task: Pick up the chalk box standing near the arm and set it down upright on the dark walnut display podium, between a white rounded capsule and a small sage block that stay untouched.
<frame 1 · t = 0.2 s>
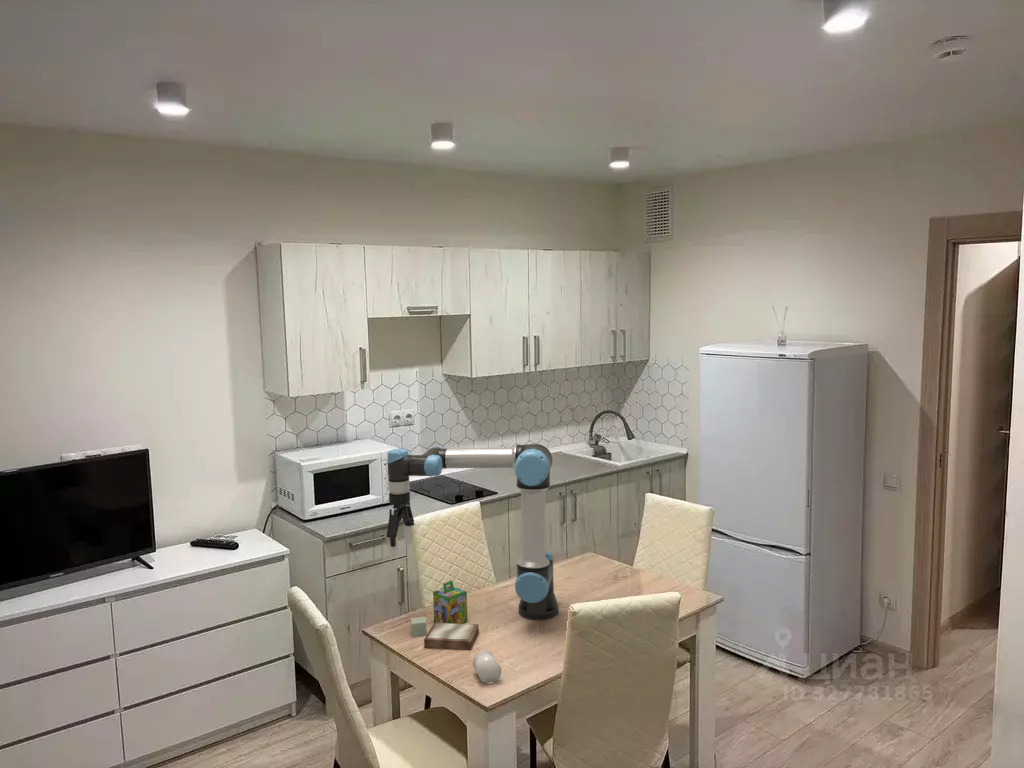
hand: (401, 549, 274), 27 cm above the table, fingers open, 13 cm apart
podium: (452, 640, 260), on the table
sage block: (418, 633, 266), on the table
chalk box: (450, 622, 275), on the table
white rounded capsule: (483, 661, 236), point 3 cm above the table, tilted 90°
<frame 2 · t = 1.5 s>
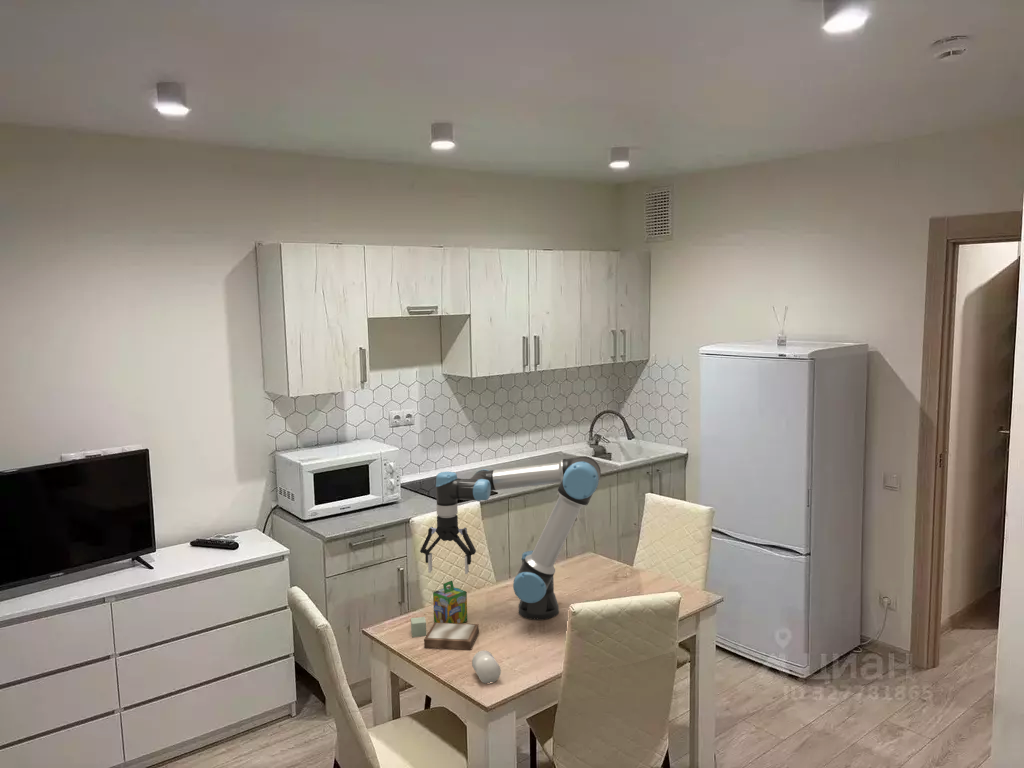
hand: (448, 572, 274), 19 cm above the table, fingers open, 13 cm apart
nothing on the table moved.
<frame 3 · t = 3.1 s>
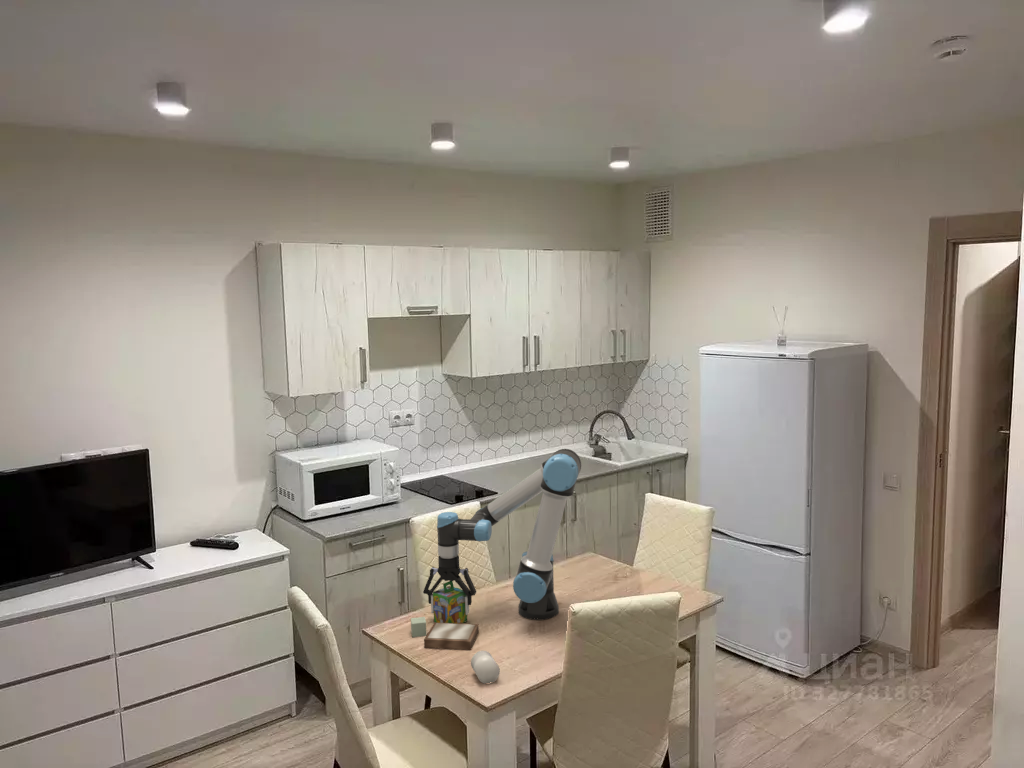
hand: (450, 612, 275), 3 cm above the table, fingers closed on chalk box, 12 cm apart
chalk box: (450, 622, 275), on the table, touching gripper
everything else where it was.
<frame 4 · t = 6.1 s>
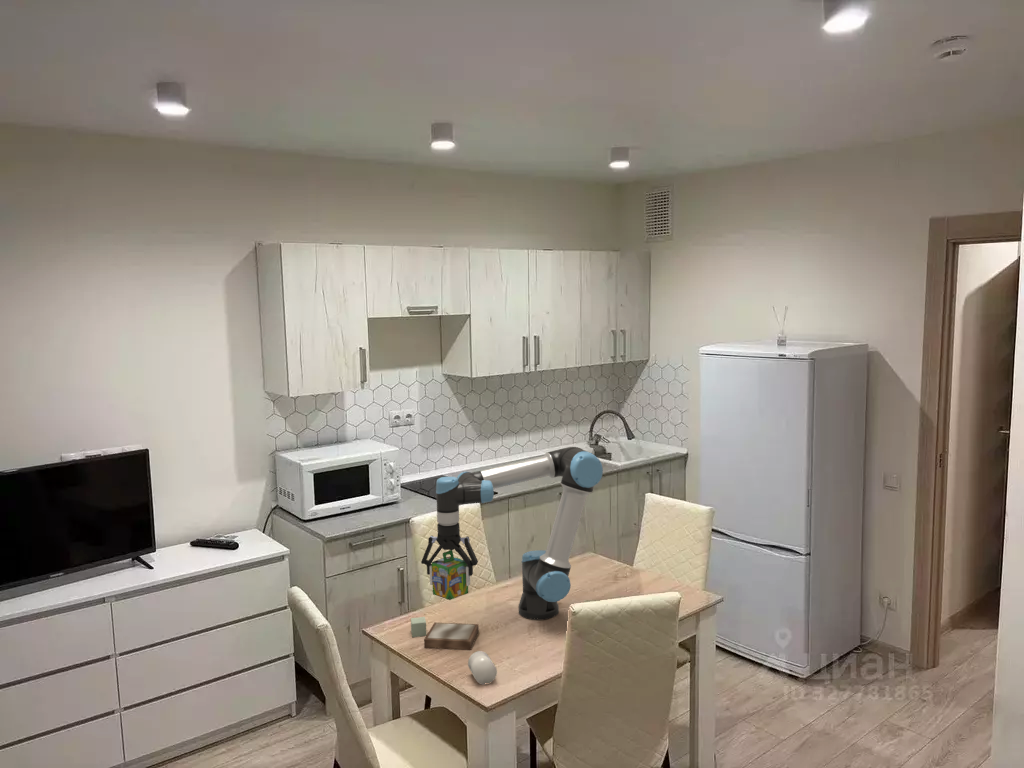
hand: (450, 584, 258), 20 cm above the table, fingers closed on chalk box, 12 cm apart
chalk box: (450, 594, 259), point 16 cm above the table, touching gripper
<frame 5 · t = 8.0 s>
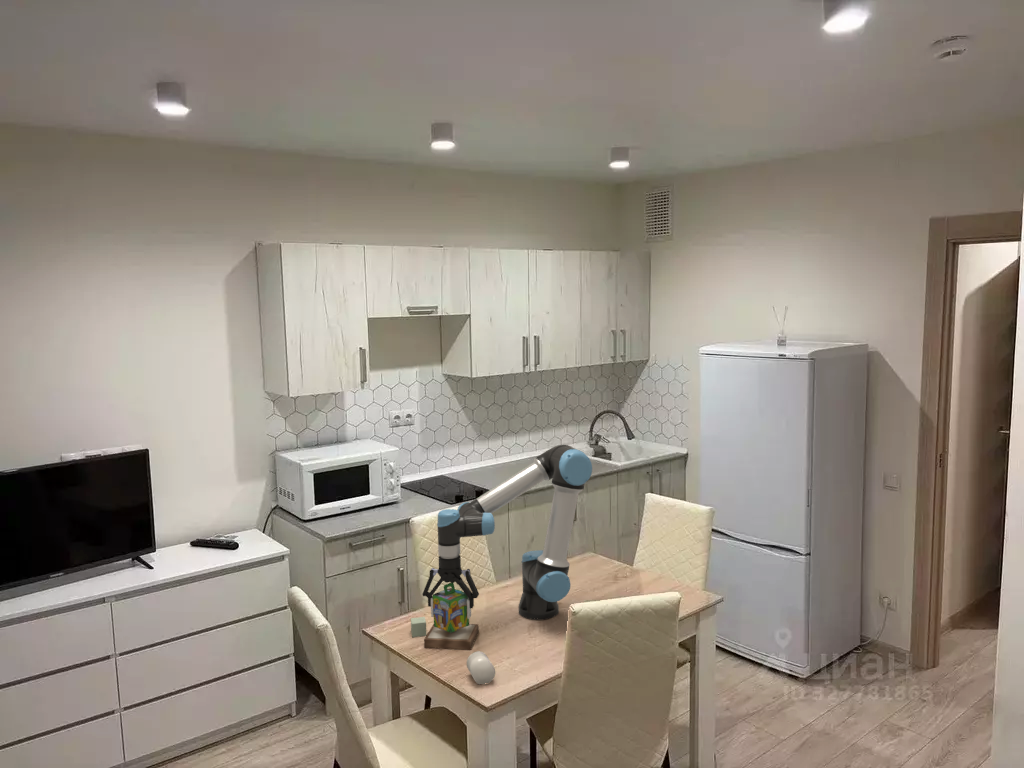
hand: (451, 616, 259), 9 cm above the table, fingers closed on chalk box, 12 cm apart
chalk box: (451, 626, 260), point 5 cm above the table, touching gripper
when the fingers open (8 cm above the table, at t = 8.9 s): chalk box drops 1 cm, resting on podium.
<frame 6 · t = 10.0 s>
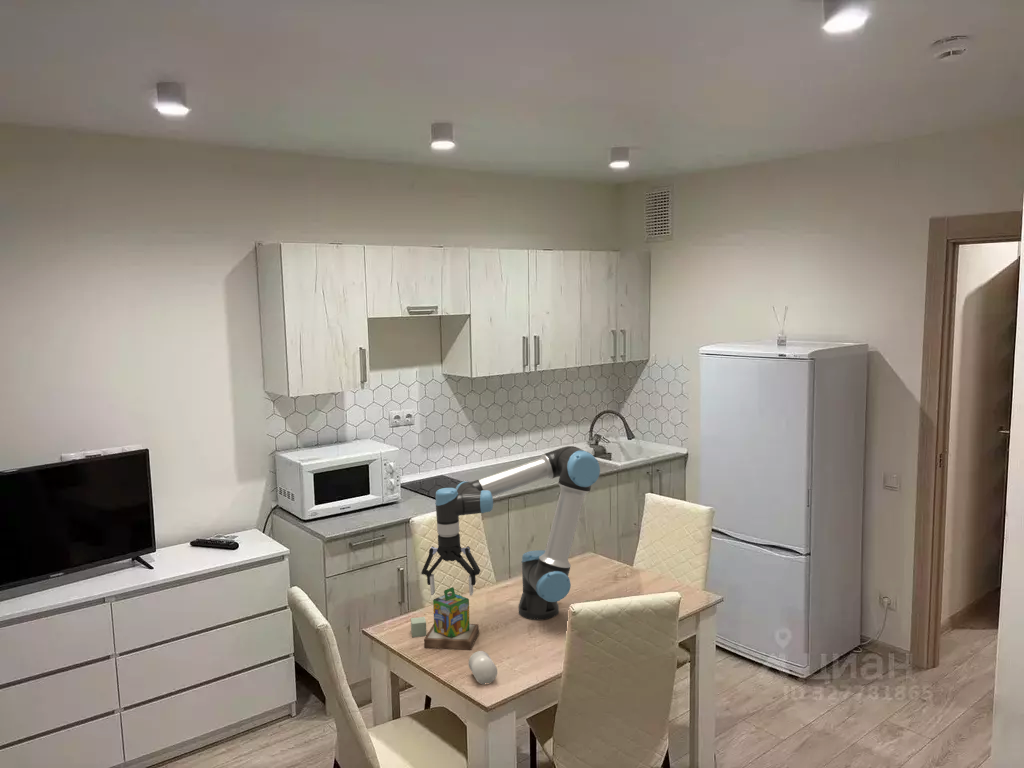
hand: (452, 593, 259), 16 cm above the table, fingers open, 13 cm apart
chalk box: (452, 631, 260), point 3 cm above the table, touching podium
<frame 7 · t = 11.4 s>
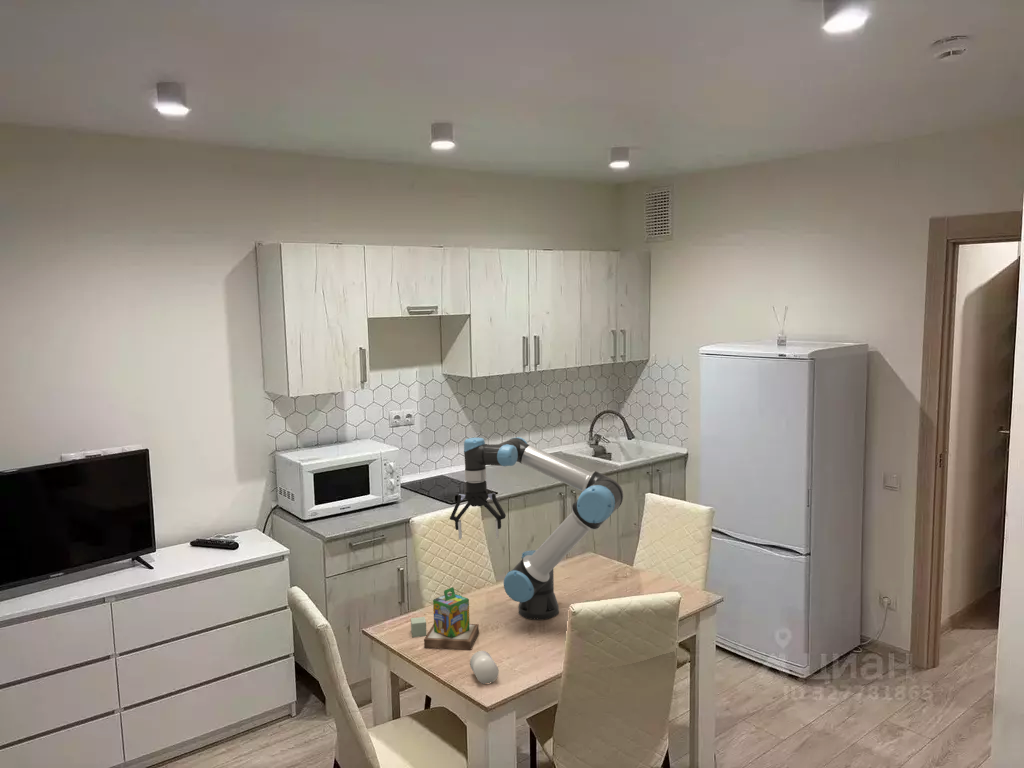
hand: (478, 538, 274), 31 cm above the table, fingers open, 13 cm apart
nothing on the table moved.
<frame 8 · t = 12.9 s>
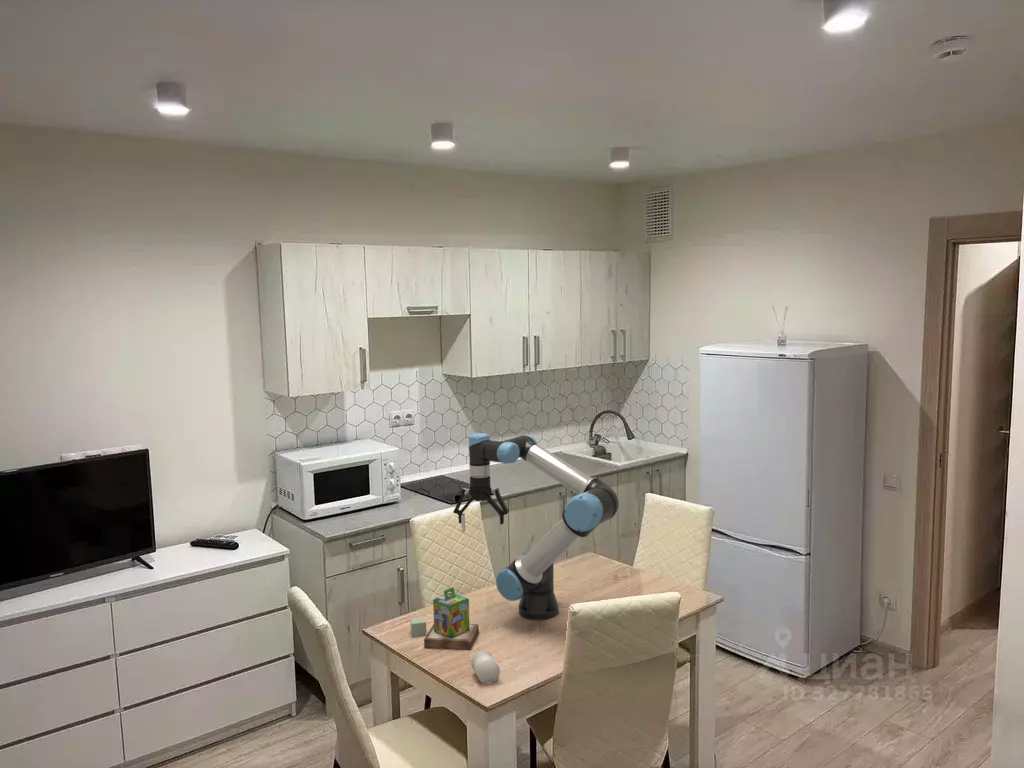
hand: (481, 532, 278), 32 cm above the table, fingers open, 13 cm apart
nothing on the table moved.
at the end: chalk box inside the target area on the podium (0.1 cm from its centre), point 3.0 cm above the podium's base; chalk box tilted 0°; the gripper is holding nothing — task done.
